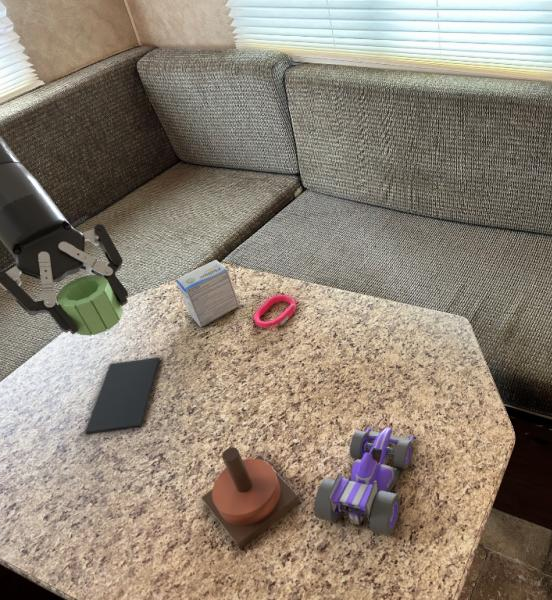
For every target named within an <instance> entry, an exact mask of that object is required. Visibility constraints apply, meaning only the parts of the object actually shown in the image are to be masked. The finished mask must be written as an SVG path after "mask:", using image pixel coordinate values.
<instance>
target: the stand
mask: <svg viewBox="0 0 552 600" xmlns="http://www.w3.org/2000/svg"><path fill="white" fill-rule="evenodd" d="M221 459H222V461H223V463H224V465H225V467H226V468H225V469H223V470H222V471H221V473H220V474H219V475H218V476H217V478H216V479H215V482H214V484H213V486H212V489H211V490H209V491H208V492H206V493H205V494H203V495H202V496H201V497H200V498H201V500H202V502H203V504H204V505H205V506H206V508H207V509H208V510H209V512H210V513H211V514H212V515H213V517H214V518H215V520H216V521H217V522H218V523H219V525H220V526H221V528H223V530H224V532H225V533H226V534H227V536H229V538H230V539H231V541H232V542H233V543H234V545H235V546H236V547H237V548H238V550H239V551H242V550H243V549H244V548H245V547H246V546H248V545H249V544H251V543H252V542H253V541H254V540H255V539H257V538H258V537H259V536H261V534H263V533H264V532H266V530H268V529H269V528H271V526H273V525H274V524H276V523H277V522H278V521H279V520H280V519H282V518H283V517H284V516H285V515H287V514H289V513H290V511H292V510H293V509H294V508H295V507H297V506H298V505H300V504H301V499H300V497H299V495H298V494H297V493H296V491H294V490H293V488H292V487H291V486H290V485H289V484H288V483H287V482H286V481H285V480H284V479H283V477H281V475H279V473H278V472H277V471H276V470H275V469H274V467H273V466H272V465H271V464H270V463H269V462H268V461H267V460H266V459H265V458H264V457H263V456H262V455H261V454H258V456H256V457H254V458H244V459H243V458H242V455H241V453H240V451H239V449H238V448H236V447H228V448H226V449H225V450H224V451H223V452H222V455H221Z"/></svg>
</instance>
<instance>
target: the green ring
mask: <svg viewBox="0 0 552 600" xmlns="http://www.w3.org/2000/svg"><path fill="white" fill-rule="evenodd" d="M55 301H57V304H58V305H59V304H60V305H61V307H62V308H63V310H64V311H65V312H66V313H67V315H68V316H69V317H70V319H71V320H72V321H73V322H74V324H75V325H76V326H77V328H78V332H77V333H76V334H78V335H80V336H89V337H91V336H96V335H98V334H99V335H100V334H101V333H105V332H107V331H109V330H112V328H114V326H116V325H117V324H119V321H121V319H122V316H123V313H124V310H123V308H122V306H121V305H120V304H119V302H118V300H117V298H116V296H115V294H114V292H113V290H112V288H111V286H110V284H109V282H108V281H107V280H106V279H105V278H104V277H103V276H100V275H93V274H89V275H88V274H87V275H84V276H80V277H77V278H74V280H71V281H69V282H68V283H67V284H65V285H64V286H62V287H61V289H59V291H58V293H57V295H56V297H55Z"/></svg>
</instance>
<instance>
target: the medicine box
mask: <svg viewBox="0 0 552 600" xmlns="http://www.w3.org/2000/svg"><path fill="white" fill-rule="evenodd" d="M175 282H176V285H177V287H178V289H179V293H180V294H181V297H182V299H183V301H184V305H185V306H186V308H187V311H188V314H189V315H190V317H191V318H192V319H193V320H194V321H195V323H196V324H197V325H198V326H199V327H200V328H202V327H204V326H206V325H208V324H210V323H212V322H213V321H215V320H217V319H219V318H220V317H222V316H224V315H226V314H228V313H230V312H232V311H233V310H235V309H237V308H239V307H240V306H241V304H240V302H239V299H238V296H237V293H236V290H235V288H234V284H233V282H232V277H231V275H230V273H229V270H228V269H227V268H226V267H225V266H224V265H223V264H222V263H220V261H218V260H217V259H214V260H212V261H210V262H208V263H205V264H204V265H202V266H199V267H197V268H196V269H193V270H191V271H190V272H187V273H186V274H183V275H181V276H179V277H178V278H176V279H175Z"/></svg>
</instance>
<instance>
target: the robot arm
mask: <svg viewBox="0 0 552 600" xmlns="http://www.w3.org/2000/svg"><path fill="white" fill-rule="evenodd" d="M105 227H106V226H104V225H103V224H100V223H98V224H96V225H95V226H94V228H92V229H88V230H85V231H84V232H81V231H79V230H77V229H75V228H74V227H73V226H72V225H71V223H70V221H68V220H67V218H66V217H65V216H64V214H63V213H62V212H61V210H60V209H59V207H58V206H57V205H56V204H55V202H54V201H53V199H52V198H51V197H50V195H49V194H48V193H47V191H46V190H45V189H44V188H43V186H42V185H41V184H40V182H39V181H38V180H37V178H35V176H34V175H33V174H32V173H31V172H30V171H29V170H28V169H27V168H26V167H25V166H24V165H23V163H22V162H21V161H20V159H19V158H18V156H16V154H15V152H14V151H13V149H11V147H10V146H9V145H8V143H7V142H6V141H5V139H4V138H3V137H2V136H1V135H0V241H1V242H2V244H3V245H4V246H5V248H6V249H7V250H8V251H9V253H10V254H11V255H12V257H13V258H14V263H15V265H14V266H13V267H11V268H10V269H8V270H6V271H0V287H1V288H2V290H4V291H5V293H6V294H8V296H10V297H11V298H12V299H13V301H15V302H16V304H18V306H20V308H22V309H23V310H24V311H25V312H26V313H27V314H28V315H29V316H32V317H34V316H37V315H40V314H48V315H50V317H51V318H52V320H53V321H54V322H55V324H56V325H57V326H58V328H59V329H60V330H61V331H62V332H63V333H65V334H68V333H69V332H70V333H71V335H75V334H78V333H77V332H78V328H77V326H76V325H75V324H74V322H73V321H72V320H71V319H70V317H69V316H68V315H67V313H66V312H65V311H64V310H63V308H62V307H61V305H60V304H59V303H58V302H56V297H55V295H56V294H55V287H54V283H56V284H58V283H60V282H61V281H63V280H65V278H67V277H68V276H73V275H75V274H77V273H79V272H80V271H83V272H84V273H87V274H89V275H100V276H103V277H104V278H105V279H106V280H107V281H108V282H109V284H110V286H111V288H112V290H113V292H114V294H115V296H116V298H117V300H118V302H119V304H120V306H121V307H123V306H125V305H127V304H128V297H129V292H128V290H127V289H126V288H125V286H124V285H123V284H122V282H121V281H120V279H119V278H118V277H117V276H116V274H117V273H118V271H120V270H121V269H122V264H123V262H124V261H123V258H122V256H121V254H120V252H119V250H118V249H117V247H116V245H115V244H114V241H113V240H112V238H111V236H110V234H109V233H108V231H107V229H106V228H105ZM86 242H90V243H91V244H92V245H93V246H95V247H100V249H101V251H102V253H103V255H104V257H105V259H106V260H107V262H108V264H107V265H106V264H105V263H103V262H101V261H100V260H98V259H97V258H96V257H94V256H92V255H91V254H88V253H87V252H86V251H85V247H86ZM21 275H24V276H28V277H31V278H34V279H37V280H40V282H41V283H40V284H41V289H42V297H43V299H42V300H38V301H37V300H36V301H35V300H34V299H33V298H32V297H31V296H30V295H29V294H28V293H27V292H26V291H25V290H24V289H23V288H22V287H21V285H22V278H21V277H20V276H21Z"/></svg>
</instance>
